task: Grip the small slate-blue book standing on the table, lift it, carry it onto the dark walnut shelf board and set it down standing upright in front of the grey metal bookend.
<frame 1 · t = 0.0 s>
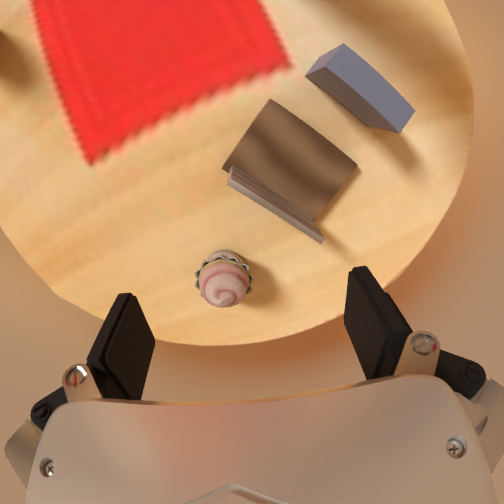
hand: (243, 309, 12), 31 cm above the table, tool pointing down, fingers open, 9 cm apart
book: (344, 91, 34), on the table
shelf: (291, 162, 39), on the table
cupcake: (224, 264, 47), on the table
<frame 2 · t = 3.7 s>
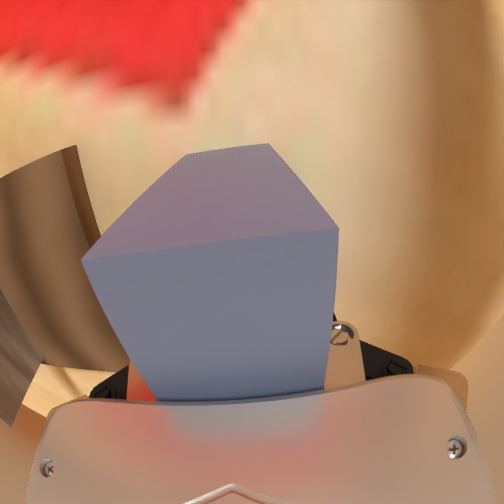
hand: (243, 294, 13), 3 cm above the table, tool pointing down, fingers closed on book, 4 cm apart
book: (242, 257, 15), on the table, touching gripper
shelf: (48, 279, 16), on the table
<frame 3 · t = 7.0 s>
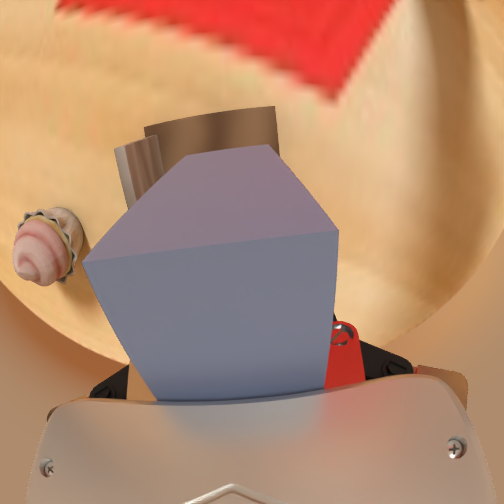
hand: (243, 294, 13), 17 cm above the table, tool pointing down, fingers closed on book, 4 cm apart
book: (242, 257, 15), point 13 cm above the table, touching gripper
shelf: (220, 192, 27), on the table
cupcake: (65, 229, 28), on the table
when the fingers open (6 cm above the table, at t = 10.2 s): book stays where it is, resting on shelf.
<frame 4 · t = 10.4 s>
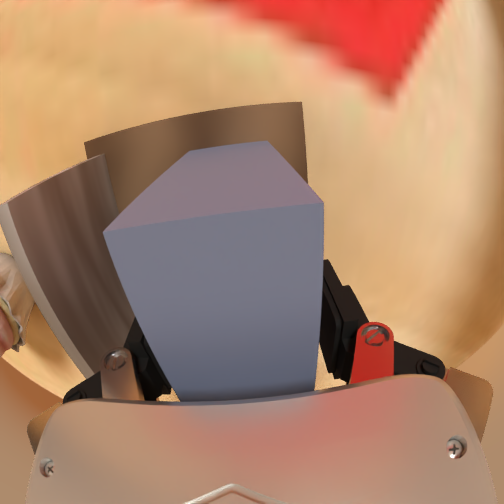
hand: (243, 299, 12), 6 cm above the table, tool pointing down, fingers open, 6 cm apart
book: (242, 248, 16), point 1 cm above the table, touching shelf
shelf: (210, 242, 18), on the table
cupcake: (14, 278, 19), on the table
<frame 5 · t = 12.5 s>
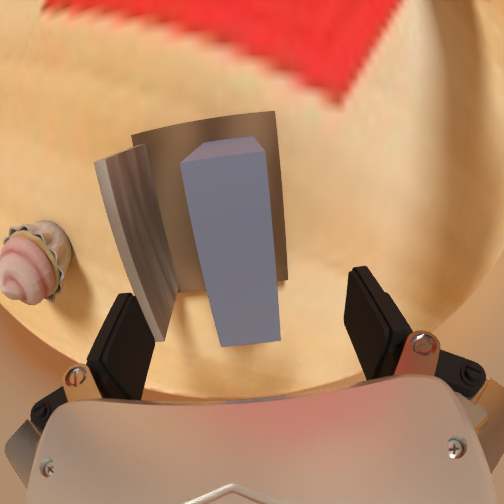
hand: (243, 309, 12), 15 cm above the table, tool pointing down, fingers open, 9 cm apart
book: (237, 207, 24), point 1 cm above the table, touching shelf
shelf: (215, 206, 25), on the table
cupcake: (53, 243, 26), on the table
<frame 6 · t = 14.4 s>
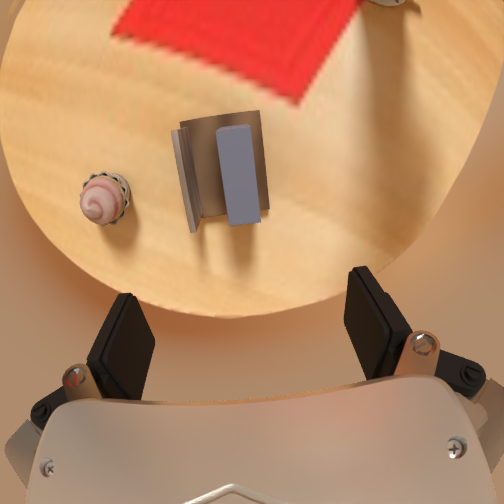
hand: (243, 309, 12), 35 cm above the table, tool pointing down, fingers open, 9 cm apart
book: (239, 163, 41), point 1 cm above the table, touching shelf
shelf: (226, 163, 42), on the table
cupcake: (115, 190, 43), on the table
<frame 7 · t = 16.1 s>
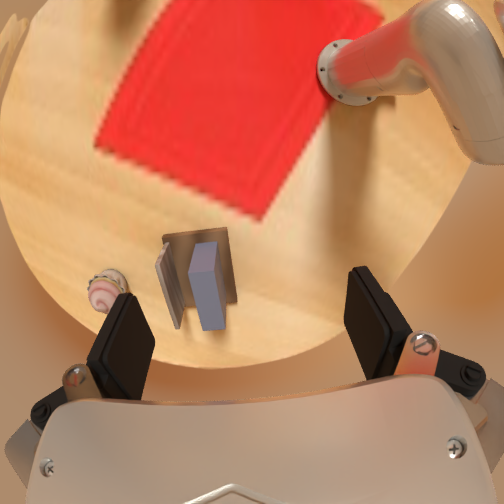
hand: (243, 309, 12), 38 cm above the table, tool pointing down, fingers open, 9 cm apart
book: (211, 270, 53), point 1 cm above the table, touching shelf
shelf: (201, 268, 54), on the table
cupcake: (114, 280, 55), on the table
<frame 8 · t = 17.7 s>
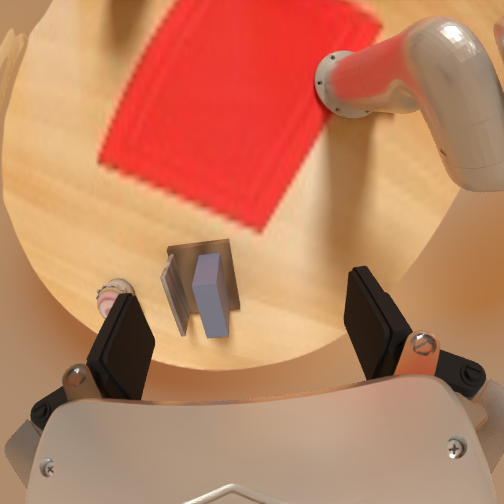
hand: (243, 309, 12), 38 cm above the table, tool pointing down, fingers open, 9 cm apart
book: (214, 280, 55), point 1 cm above the table, touching shelf
shelf: (205, 277, 56), on the table
cupcake: (122, 288, 57), on the table
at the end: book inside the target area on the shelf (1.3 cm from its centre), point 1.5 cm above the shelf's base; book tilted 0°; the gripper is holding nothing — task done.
